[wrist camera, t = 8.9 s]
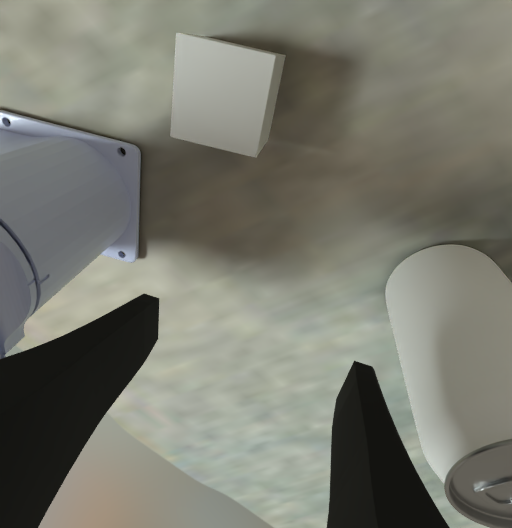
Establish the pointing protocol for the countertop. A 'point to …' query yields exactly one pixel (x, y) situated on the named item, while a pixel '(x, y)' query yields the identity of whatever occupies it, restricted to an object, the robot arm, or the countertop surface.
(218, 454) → the countertop surface
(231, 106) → the grey cube
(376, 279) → the countertop surface
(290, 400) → the countertop surface
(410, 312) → the can
